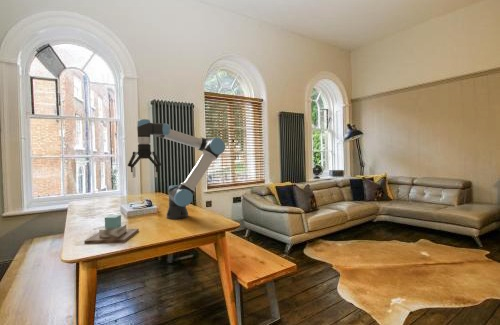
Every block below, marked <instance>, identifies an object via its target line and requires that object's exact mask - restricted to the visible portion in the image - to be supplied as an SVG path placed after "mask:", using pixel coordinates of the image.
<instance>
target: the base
mask: <svg viewBox="0 0 500 325" xmlns="http://www.w3.org/2000/svg"><path fill="white" fill-rule="evenodd" d="M138 232H140V230H139V228H127V224H121V226H120V227H118V228H115V229H105V226H104V227H102V228H100V229H99V232H97V233H96V234H93V235H92V236H90V237H88V238H87V239H85V240H84V241H83V242H84V245H85V244H86V245H87V244H120V243H123V244H124V243H126V242H127V241H129V240H130V238H132V237H134V236H135V235H136V234H137V233H138Z"/></svg>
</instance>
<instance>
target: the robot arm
mask: <svg viewBox="0 0 500 325" xmlns="http://www.w3.org/2000/svg"><path fill="white" fill-rule="evenodd" d="M136 123H137V126H136V129H137V151H133V152H132V155H131V157H130V160H129V161H128V163H127V166H128V167H130V172H131V173H132V178H136V165H137V164H138V162H139V161H140V160H143V159H145V160H147V159H148V160H149V161H150V162H151V163H152V164H153V165H154V166H155V167H153V168H154V172H153V173H154V178H158V173H159V167H161V166H162V163H161V161H160V159H159V158H158V155H157V152H156V151H151V146H152V145H151V136H153V137H156V138H161V139H164V140H169V141H172V142H175V143H179V144H183V145H185V146H189V147H192V148H196V150H197V151H200V152H202V153H201V156H200V157H199V159H198V161H197V162H196V163H195V165H194V166H193V168H192V169H191V171H190V173H189V174H188V175H187V177H186V179H185V180H184V181H183V182H180V184H176V185H169V187H168V208H167V212H166V218H167V219H168V220H181V218H182V219H186V218H188V217H189V212H188V209H187V206H189V205H190V204H191V203H192V202H193V200H194V199H193V197H194V194H195V193H196V188H197V186H198V185H199V183H200V181H201V180H202V178H203V177H204V175H205V173H206V172H207V170H208V169H209V168H210V166H211V165H212V163H213V162H214V161H215V160H217V159H218V157H219V156H220V155H221V154H223V153H224V152H225V149H226V143H225V141H224V140H223V139H222V138H220V137H212V138H204V137H196V136H193V135H191V134H186V133H183V132H181V131H178V130H174V129H172V128H170V127H171V126H170V124H168V123H164V122H163V123H158V122H157V123H155V122H151V120H150V119H146V118H140V119H137V122H136ZM152 156H153V157H152ZM135 158H136V159H135ZM153 158H154V159H153ZM185 217H186V218H185Z"/></svg>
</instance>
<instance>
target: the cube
mask: <svg viewBox="0 0 500 325" xmlns="http://www.w3.org/2000/svg"><path fill="white" fill-rule="evenodd" d="M121 225H122V214H109V215H107V216H105V217H104V227H105V229H115V228H118V227H120V226H121Z"/></svg>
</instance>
